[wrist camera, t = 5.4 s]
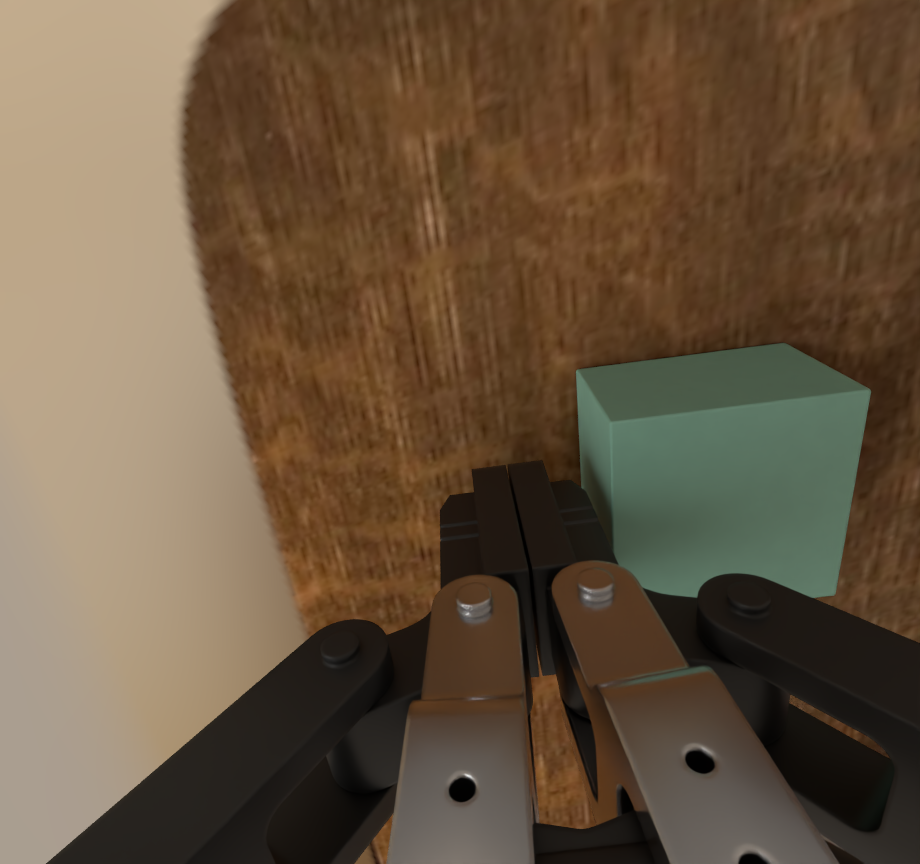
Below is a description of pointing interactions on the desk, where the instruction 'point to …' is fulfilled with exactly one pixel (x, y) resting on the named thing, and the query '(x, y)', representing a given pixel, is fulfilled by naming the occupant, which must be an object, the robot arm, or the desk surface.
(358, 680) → the robot arm
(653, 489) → the block
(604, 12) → the desk surface
